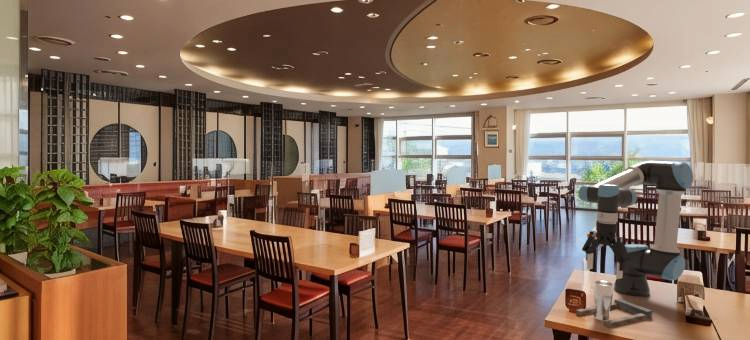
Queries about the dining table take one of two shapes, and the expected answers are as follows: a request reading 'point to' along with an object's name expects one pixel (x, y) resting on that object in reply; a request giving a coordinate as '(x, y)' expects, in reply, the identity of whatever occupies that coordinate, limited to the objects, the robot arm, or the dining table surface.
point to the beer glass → (603, 300)
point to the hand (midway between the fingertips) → (603, 273)
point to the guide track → (618, 303)
